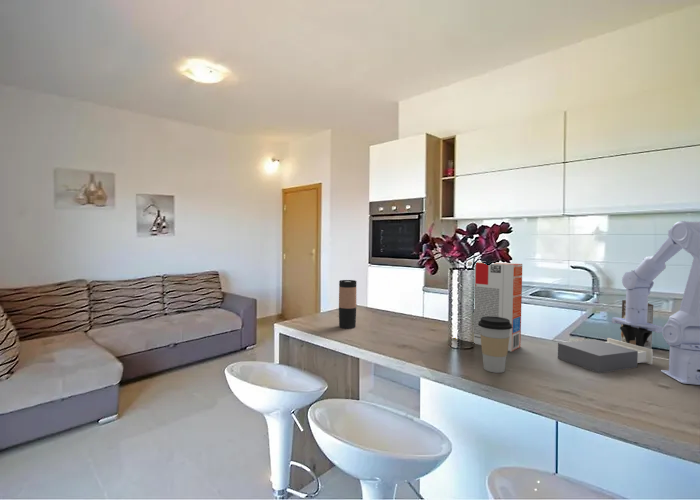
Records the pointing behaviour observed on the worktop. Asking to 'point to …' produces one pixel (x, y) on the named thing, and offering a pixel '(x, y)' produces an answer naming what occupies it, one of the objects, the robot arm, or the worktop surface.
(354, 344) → the worktop surface
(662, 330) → the robot arm
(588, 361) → the sleeve
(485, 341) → the coffee cup
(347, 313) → the travel mug
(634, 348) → the mailer tray
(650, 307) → the coffee box
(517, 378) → the worktop surface
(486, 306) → the pasta box
